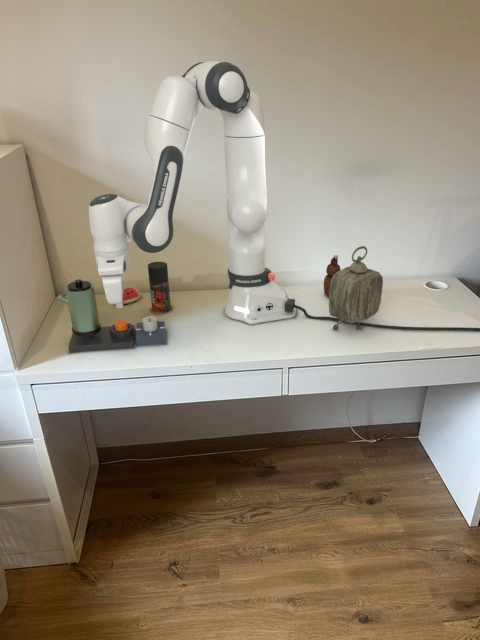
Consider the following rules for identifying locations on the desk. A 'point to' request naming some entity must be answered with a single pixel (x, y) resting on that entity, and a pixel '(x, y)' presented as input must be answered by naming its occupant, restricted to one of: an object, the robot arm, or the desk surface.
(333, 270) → the wooden figurine
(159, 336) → the control pad
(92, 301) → the kettle
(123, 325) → the power button
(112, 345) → the kettle base
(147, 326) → the temp dial
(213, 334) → the desk surface
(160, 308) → the deodorant
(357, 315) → the tabletop clock
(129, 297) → the ladybug figurine
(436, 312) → the desk surface
